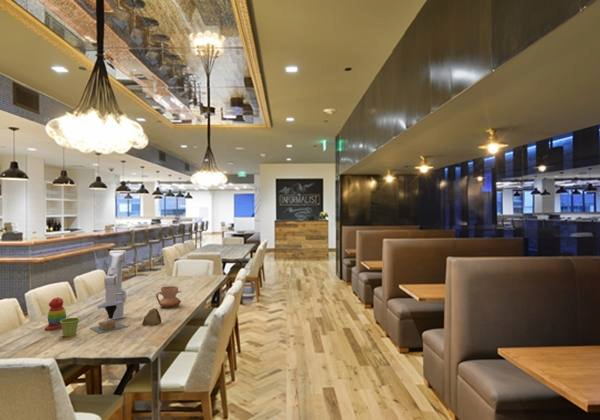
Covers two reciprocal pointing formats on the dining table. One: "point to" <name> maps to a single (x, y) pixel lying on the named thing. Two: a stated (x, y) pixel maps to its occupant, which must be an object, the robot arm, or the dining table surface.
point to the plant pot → (69, 326)
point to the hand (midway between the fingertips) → (110, 318)
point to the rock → (152, 317)
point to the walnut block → (106, 324)
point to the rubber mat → (117, 326)
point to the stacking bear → (55, 314)
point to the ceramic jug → (169, 296)
